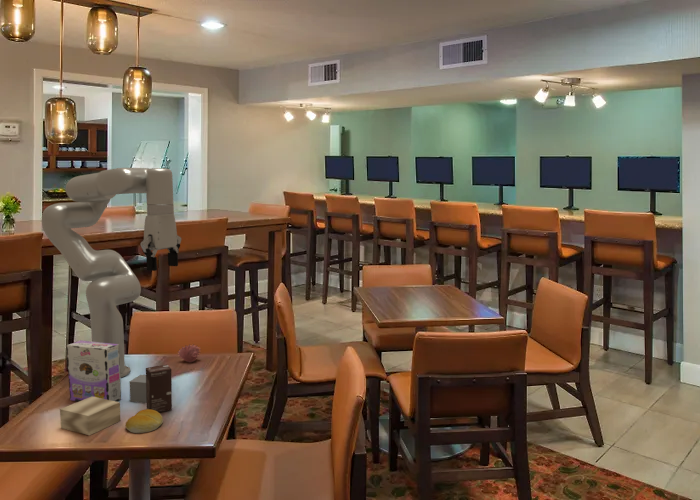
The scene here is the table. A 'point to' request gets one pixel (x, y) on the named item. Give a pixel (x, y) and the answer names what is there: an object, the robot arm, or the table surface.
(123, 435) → the table surface
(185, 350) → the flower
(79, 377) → the candy box
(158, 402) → the box
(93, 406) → the base block
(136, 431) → the bread roll
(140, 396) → the grey cube
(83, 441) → the table surface
